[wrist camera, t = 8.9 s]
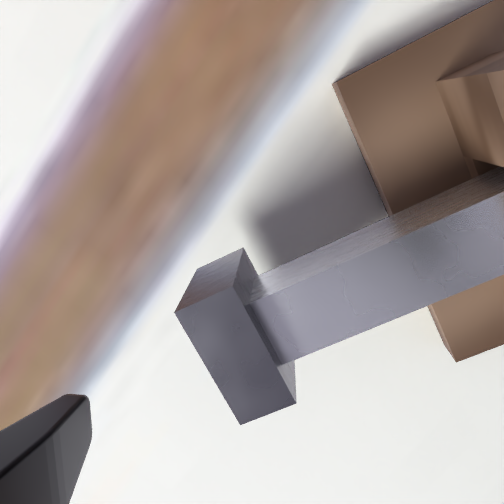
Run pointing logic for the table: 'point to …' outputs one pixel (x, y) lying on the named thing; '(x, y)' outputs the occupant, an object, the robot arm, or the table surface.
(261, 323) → the shaft
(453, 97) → the shaft bracket
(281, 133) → the table surface
